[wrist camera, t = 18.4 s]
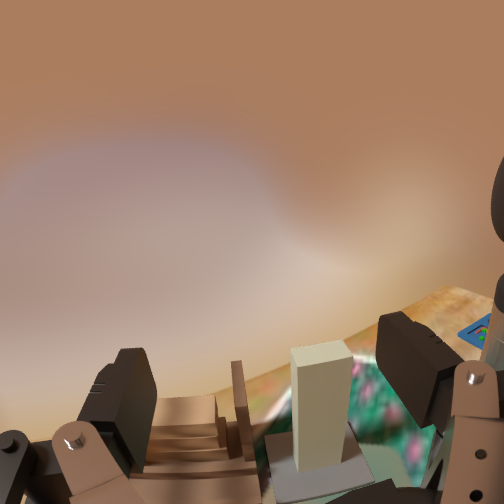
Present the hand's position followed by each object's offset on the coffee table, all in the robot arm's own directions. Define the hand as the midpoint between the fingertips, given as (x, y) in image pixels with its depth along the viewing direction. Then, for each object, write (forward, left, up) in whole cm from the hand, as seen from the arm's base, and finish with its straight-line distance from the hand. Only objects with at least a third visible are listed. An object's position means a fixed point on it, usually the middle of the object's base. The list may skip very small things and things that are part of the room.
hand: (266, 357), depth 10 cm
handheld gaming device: (-48, -31, -28) cm, 63 cm away
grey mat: (-6, -14, -27) cm, 31 cm away
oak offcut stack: (+9, -18, -25) cm, 33 cm away
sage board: (-6, -14, -26) cm, 31 cm away
